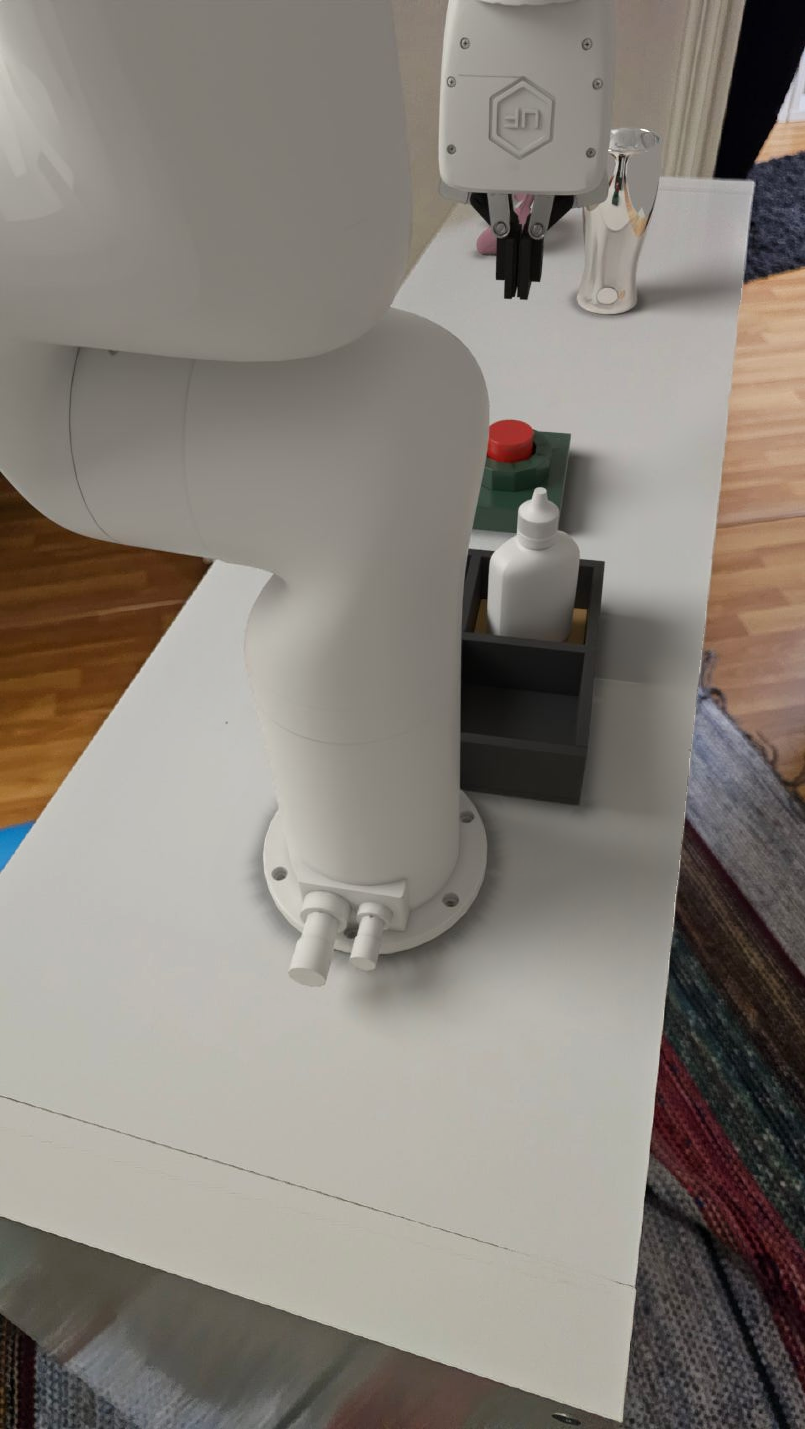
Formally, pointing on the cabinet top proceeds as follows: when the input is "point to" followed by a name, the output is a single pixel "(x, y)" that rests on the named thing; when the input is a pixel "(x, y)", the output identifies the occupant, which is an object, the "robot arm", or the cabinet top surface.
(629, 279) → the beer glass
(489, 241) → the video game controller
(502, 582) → the eye dropper bottle
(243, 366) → the robot arm
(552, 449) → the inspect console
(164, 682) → the cabinet top surface
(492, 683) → the tray
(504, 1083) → the cabinet top surface
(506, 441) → the button
